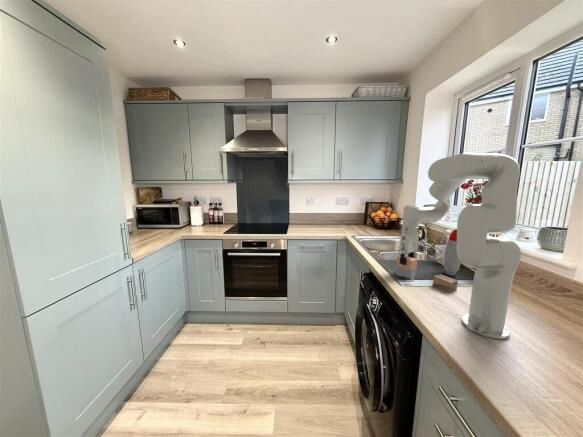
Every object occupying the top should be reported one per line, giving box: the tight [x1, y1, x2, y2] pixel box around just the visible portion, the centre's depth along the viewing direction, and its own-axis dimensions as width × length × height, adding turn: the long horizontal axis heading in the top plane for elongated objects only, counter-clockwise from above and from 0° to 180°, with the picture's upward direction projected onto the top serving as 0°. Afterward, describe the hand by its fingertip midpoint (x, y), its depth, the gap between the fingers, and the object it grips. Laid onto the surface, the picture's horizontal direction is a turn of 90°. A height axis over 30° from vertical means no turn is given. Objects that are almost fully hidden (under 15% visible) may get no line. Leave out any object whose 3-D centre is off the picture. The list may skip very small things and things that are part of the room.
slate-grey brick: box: [395, 265, 417, 280], centre depth 123 cm, size 5×8×5 cm, turn 41°
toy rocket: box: [443, 228, 462, 277], centre depth 124 cm, size 8×8×25 cm
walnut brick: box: [432, 274, 459, 293], centre depth 110 cm, size 5×8×5 cm, turn 26°
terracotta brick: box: [396, 255, 418, 270], centre depth 122 cm, size 5×8×5 cm, turn 30°
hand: (406, 262), depth 123 cm, fingers open, 6 cm apart
